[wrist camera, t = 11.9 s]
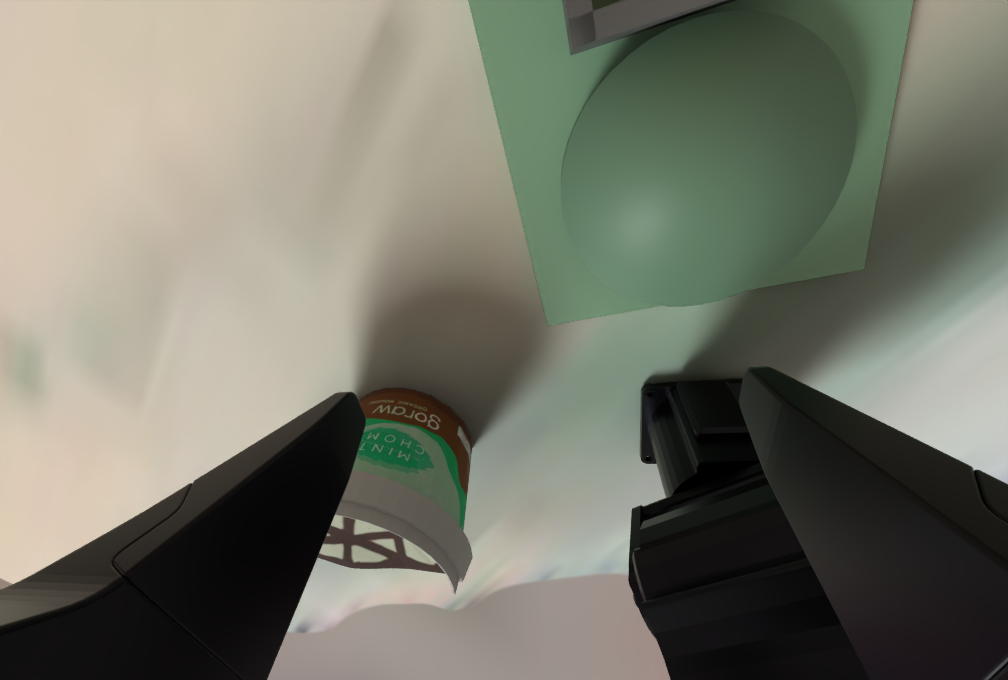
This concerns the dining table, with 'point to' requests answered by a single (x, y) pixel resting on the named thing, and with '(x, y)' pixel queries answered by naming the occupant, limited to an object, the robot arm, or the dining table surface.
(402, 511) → the food container
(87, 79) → the dining table surface
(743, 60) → the green domed base plate
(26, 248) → the dining table surface
